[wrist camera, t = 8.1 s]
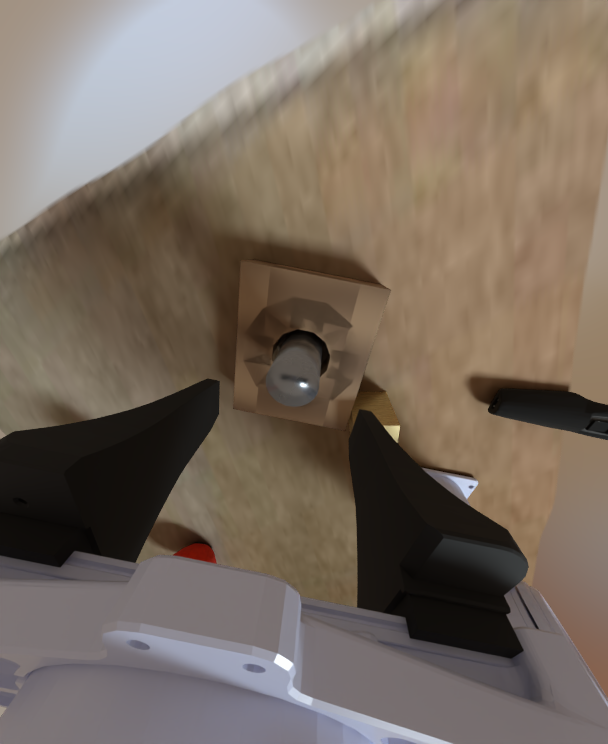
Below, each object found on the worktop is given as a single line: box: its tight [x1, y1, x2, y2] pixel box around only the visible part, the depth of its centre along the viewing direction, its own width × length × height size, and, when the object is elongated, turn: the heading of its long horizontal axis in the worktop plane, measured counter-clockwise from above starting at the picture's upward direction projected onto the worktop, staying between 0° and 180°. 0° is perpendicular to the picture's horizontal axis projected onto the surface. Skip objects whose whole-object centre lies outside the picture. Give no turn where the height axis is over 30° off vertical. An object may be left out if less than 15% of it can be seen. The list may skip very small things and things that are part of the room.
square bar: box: [348, 392, 400, 443], centre depth 21 cm, size 3×3×5 cm
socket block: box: [233, 259, 391, 431], centre depth 20 cm, size 12×10×3 cm
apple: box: [173, 543, 217, 564], centre depth 34 cm, size 8×8×7 cm
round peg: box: [266, 329, 323, 407], centre depth 17 cm, size 3×3×7 cm
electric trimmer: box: [488, 389, 608, 440], centre depth 20 cm, size 4×16×3 cm, turn 81°
